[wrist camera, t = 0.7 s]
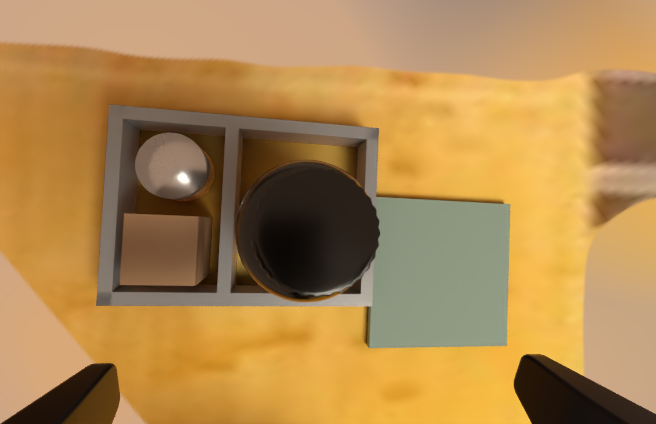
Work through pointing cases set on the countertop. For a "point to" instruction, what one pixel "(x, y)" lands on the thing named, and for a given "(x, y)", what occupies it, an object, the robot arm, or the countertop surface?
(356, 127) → the parts organiser
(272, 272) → the supplement bottle
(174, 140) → the silver round piece
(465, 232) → the rubber mat
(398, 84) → the countertop surface
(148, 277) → the walnut block
